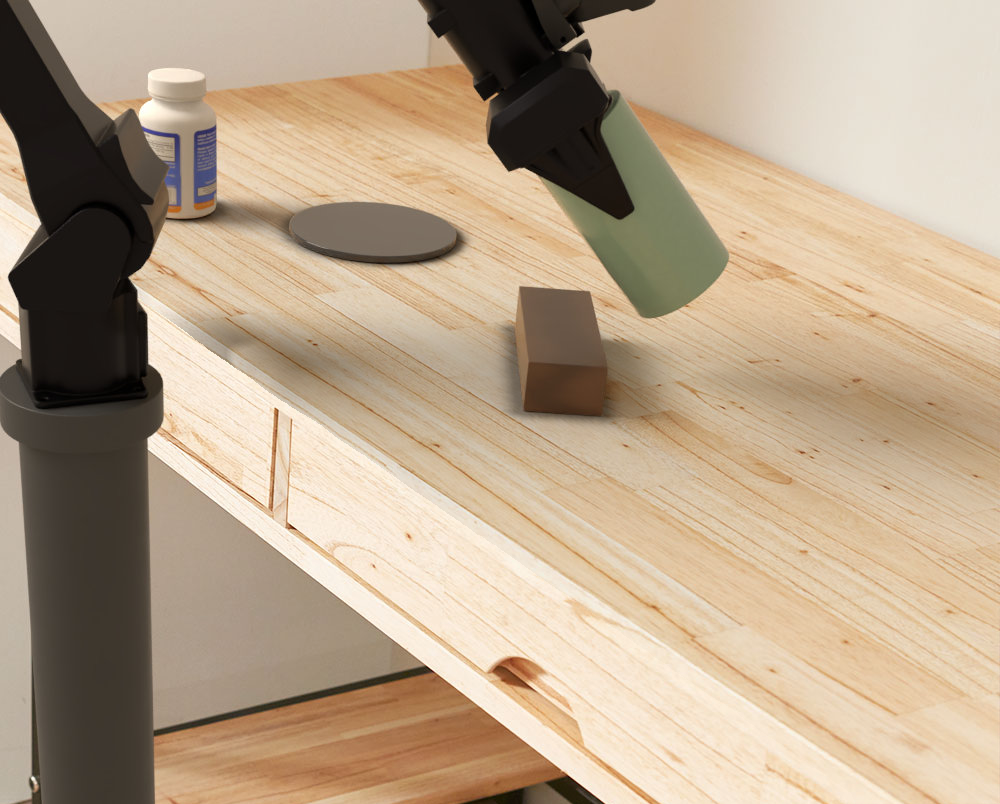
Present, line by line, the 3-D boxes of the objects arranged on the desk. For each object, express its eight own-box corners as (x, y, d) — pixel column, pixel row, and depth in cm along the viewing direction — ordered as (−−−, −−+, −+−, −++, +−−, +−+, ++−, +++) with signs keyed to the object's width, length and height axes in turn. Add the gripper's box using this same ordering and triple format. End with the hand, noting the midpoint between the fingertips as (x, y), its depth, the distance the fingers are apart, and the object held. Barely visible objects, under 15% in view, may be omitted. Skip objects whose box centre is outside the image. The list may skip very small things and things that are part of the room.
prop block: (523, 411, 87) (528, 361, 85) (514, 330, 97) (519, 285, 96) (602, 416, 87) (608, 367, 86) (584, 335, 97) (590, 290, 96)
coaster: (323, 268, 104) (323, 261, 104) (266, 212, 113) (266, 206, 113) (483, 256, 109) (483, 250, 109) (416, 203, 118) (417, 197, 118)
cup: (504, 313, 88) (543, 95, 82) (500, 273, 93) (536, 65, 87) (719, 344, 89) (773, 131, 83) (702, 302, 95) (752, 99, 89)
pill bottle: (205, 195, 115) (204, 64, 111) (226, 218, 111) (226, 82, 107) (132, 199, 113) (129, 65, 109) (151, 222, 109) (148, 84, 104)
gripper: (601, -105, 71) (773, 162, 78) (571, -153, 87) (716, 71, 94) (409, 40, 74) (590, 286, 80) (415, -33, 90) (565, 176, 97)
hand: (621, 195), depth 88 cm, fingers closed on cup, 6 cm apart
